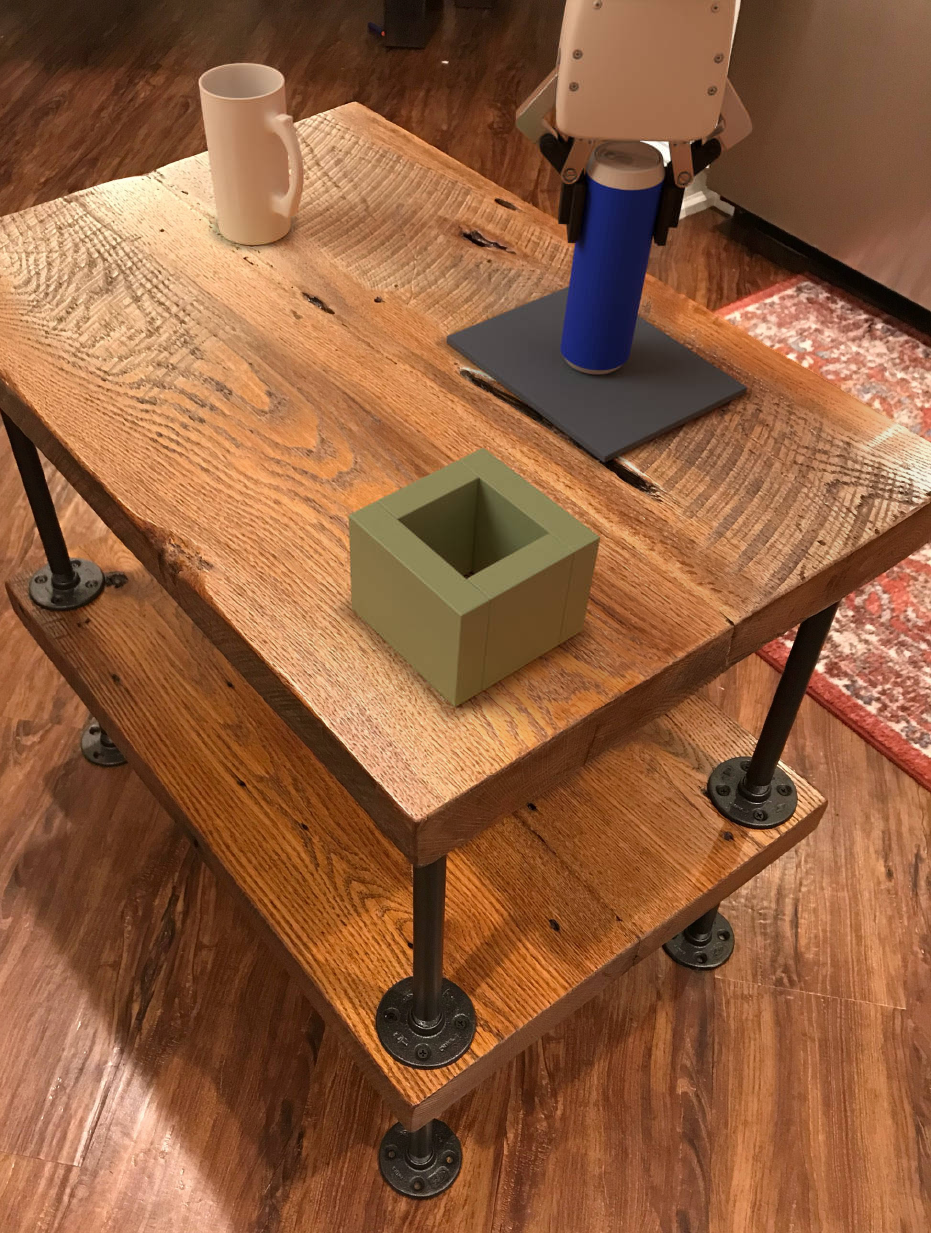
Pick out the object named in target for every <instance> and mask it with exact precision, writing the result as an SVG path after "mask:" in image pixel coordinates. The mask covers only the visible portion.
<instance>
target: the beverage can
mask: <svg viewBox="0 0 931 1233" xmlns="http://www.w3.org/2000/svg"><path fill="white" fill-rule="evenodd" d="M588 158H589V159H587V162H586V164H585V169H584V174H585V184H586V190H585V198H584V205H583V213H582V220H581V228H580V235H579V241H576V243H574V248H573V255H572V262H571V263H572V264H571V270H570V277H569V282H568V287H569V290H568V297H567V304H566V311H565V318H564V325H563V332H562V339H561V346H560V349H561V353H562V355H563V357H564V358H565V360H566V361H567V363H568V364H569V365H570V366H571V367H573V368H574V369H576V370H578V371H581V372H584V373H588V374H607V373H610V372H613V371H615V370H617V369H618V368H620V367H621V366H622V365H623V364H624V363H625V362H626V361H627V360H628V358H629V356H630V351H631V346H632V341H633V336H634V331H635V326H636V321H637V316H639V312H640V305H641V299H642V296H643V290H644V285H645V279H646V275H647V270H648V264H649V259H650V254H651V249H652V244H653V240H654V238H653V234H654V229H655V224H656V219H657V214H658V209H659V204H660V199H661V194H662V189H663V183H664V178H665V167H664V166H665V161H664V160H665V158H664V155H663V153H662V152H661V150H660V149H658V148H657V147H655V146H654V145H652V144H650V143H647V142H646V141H620V140H606V141H604V142H601V143H599V144H598V145H596V147H594V148H593V150H592V152H591V153H590V155H589V157H588Z"/></svg>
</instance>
